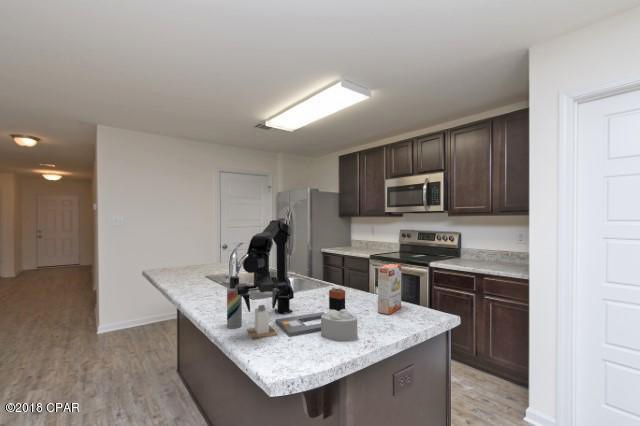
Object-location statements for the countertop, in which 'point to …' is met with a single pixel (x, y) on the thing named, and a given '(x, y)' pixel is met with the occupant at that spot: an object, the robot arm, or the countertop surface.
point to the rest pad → (256, 335)
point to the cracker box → (389, 288)
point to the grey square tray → (299, 324)
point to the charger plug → (261, 320)
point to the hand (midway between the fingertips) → (261, 310)
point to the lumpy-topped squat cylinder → (339, 325)
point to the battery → (336, 299)
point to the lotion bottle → (234, 305)
